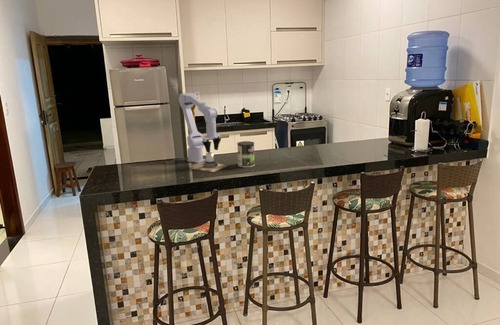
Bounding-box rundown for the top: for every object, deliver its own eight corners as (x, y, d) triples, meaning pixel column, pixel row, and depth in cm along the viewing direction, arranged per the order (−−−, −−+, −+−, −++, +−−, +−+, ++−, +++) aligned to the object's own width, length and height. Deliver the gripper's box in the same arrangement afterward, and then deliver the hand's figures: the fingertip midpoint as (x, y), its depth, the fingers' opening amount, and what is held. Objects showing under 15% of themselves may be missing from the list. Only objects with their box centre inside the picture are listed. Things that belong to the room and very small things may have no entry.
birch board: (189, 168, 221) (188, 166, 221) (203, 162, 233) (203, 161, 233) (212, 172, 212) (212, 170, 212) (226, 166, 223) (226, 164, 223)
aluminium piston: (205, 166, 221) (204, 153, 218) (210, 164, 224) (209, 152, 222) (210, 167, 218) (210, 154, 216) (215, 165, 222) (215, 153, 219)
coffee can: (257, 164, 227) (257, 142, 223) (249, 168, 218) (248, 145, 215) (243, 162, 232) (243, 140, 228) (234, 166, 224) (233, 143, 220)
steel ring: (200, 167, 220) (200, 163, 219) (209, 163, 227) (209, 159, 226) (211, 168, 215) (211, 164, 215) (220, 165, 222) (220, 161, 222)
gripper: (208, 131, 212) (209, 154, 215) (223, 127, 223) (224, 149, 227) (199, 130, 216) (200, 153, 219) (214, 126, 227) (215, 148, 231)
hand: (212, 151), depth 223 cm, fingers open, 7 cm apart
